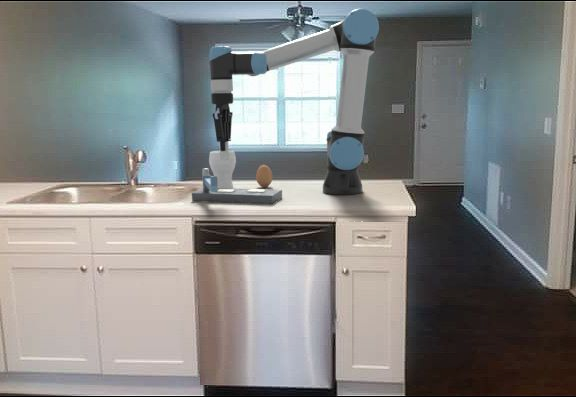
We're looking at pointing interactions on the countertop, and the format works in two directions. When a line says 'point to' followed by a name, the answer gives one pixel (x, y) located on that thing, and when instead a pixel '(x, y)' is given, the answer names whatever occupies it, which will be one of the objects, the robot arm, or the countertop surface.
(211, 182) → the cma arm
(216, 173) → the cup
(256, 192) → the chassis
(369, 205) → the countertop surface
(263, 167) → the egg
